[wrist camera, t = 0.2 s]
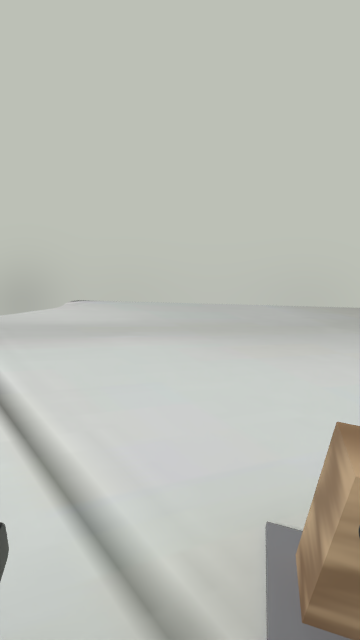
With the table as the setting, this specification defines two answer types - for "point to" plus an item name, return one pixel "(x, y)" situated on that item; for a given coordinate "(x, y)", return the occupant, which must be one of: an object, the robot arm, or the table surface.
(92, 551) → the table surface
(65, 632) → the table surface
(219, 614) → the table surface
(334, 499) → the post
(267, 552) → the pad
